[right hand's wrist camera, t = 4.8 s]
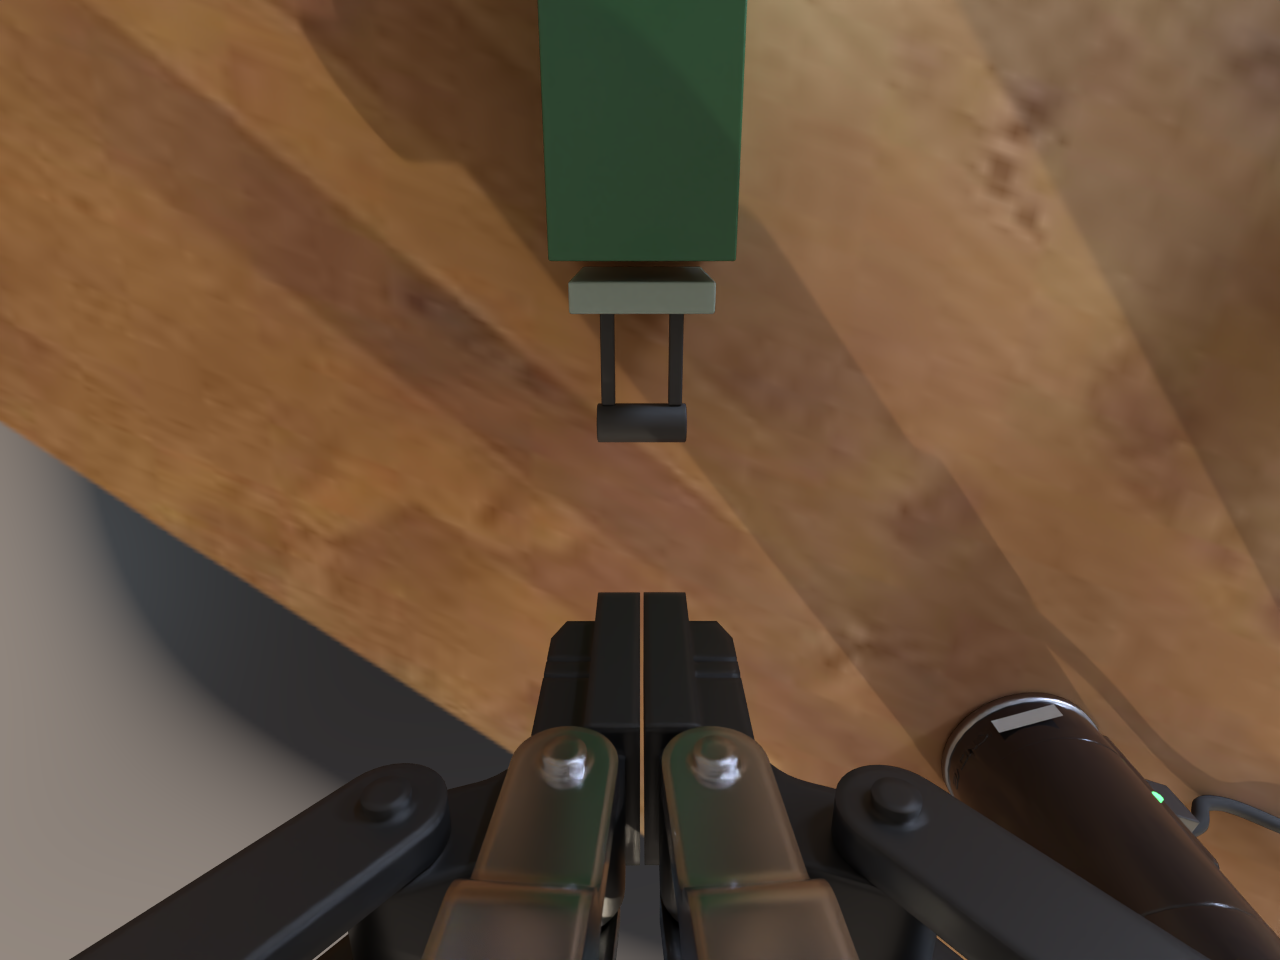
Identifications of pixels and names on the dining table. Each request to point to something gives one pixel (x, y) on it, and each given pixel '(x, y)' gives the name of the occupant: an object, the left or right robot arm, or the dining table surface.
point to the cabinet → (642, 128)
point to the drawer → (641, 295)
